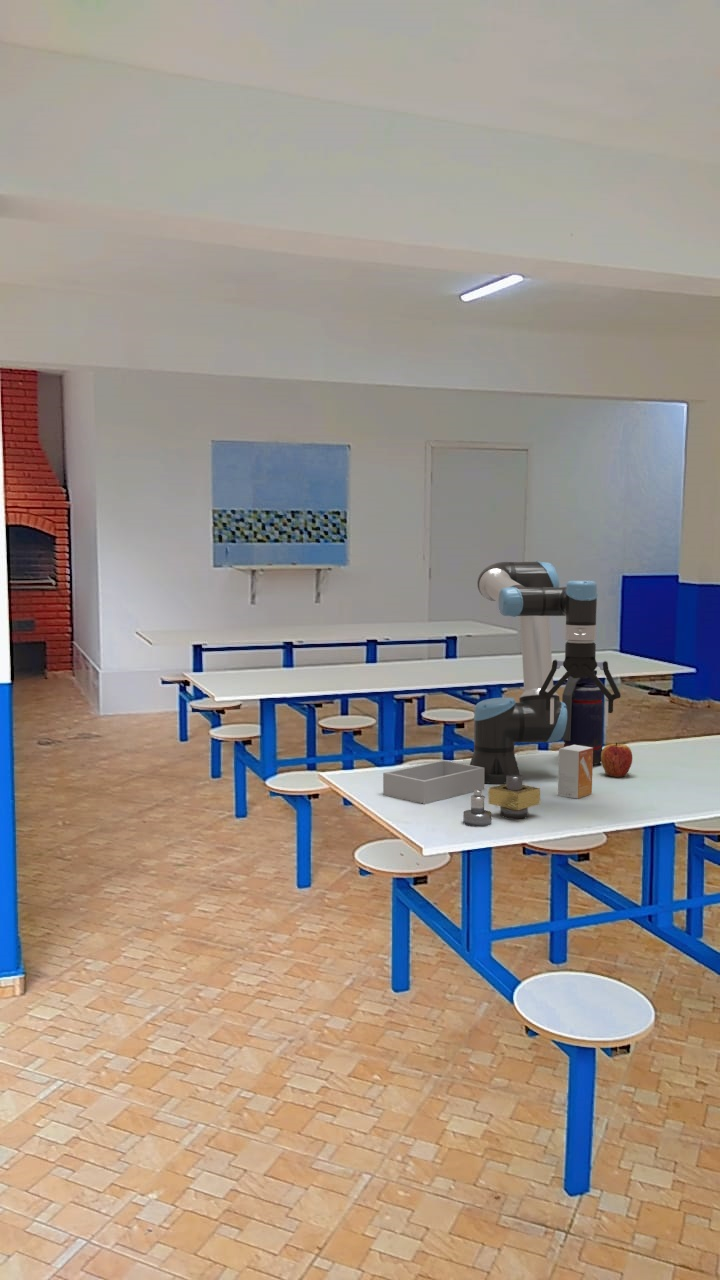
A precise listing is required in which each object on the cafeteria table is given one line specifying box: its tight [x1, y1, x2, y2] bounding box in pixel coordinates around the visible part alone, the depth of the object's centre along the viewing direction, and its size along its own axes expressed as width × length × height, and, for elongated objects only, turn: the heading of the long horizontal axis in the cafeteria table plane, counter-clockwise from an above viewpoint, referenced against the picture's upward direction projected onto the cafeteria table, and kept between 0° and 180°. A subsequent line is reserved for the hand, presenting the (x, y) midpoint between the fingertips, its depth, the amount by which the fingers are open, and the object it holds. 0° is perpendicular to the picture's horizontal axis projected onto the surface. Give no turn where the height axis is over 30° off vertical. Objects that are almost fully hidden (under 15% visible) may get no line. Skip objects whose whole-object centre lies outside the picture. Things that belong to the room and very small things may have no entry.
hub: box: [462, 790, 493, 827], centre depth 245 cm, size 7×7×8 cm
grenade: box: [560, 669, 605, 766], centre depth 314 cm, size 14×12×30 cm
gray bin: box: [382, 759, 485, 805], centre depth 277 cm, size 15×25×6 cm, turn 134°
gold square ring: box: [488, 783, 541, 810], centre depth 252 cm, size 9×9×4 cm
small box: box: [557, 745, 594, 799], centre depth 274 cm, size 8×6×13 cm
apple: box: [601, 742, 633, 778], centre depth 298 cm, size 9×9×10 cm
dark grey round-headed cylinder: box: [499, 774, 529, 820], centre depth 252 cm, size 7×7×10 cm
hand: (578, 724), depth 256 cm, fingers open, 13 cm apart
